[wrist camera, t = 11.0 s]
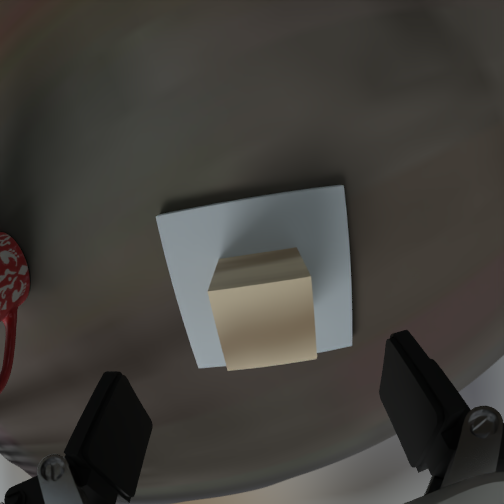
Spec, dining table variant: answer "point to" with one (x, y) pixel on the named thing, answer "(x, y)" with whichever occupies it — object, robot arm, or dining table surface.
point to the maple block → (263, 309)
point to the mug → (11, 296)
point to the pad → (257, 241)
